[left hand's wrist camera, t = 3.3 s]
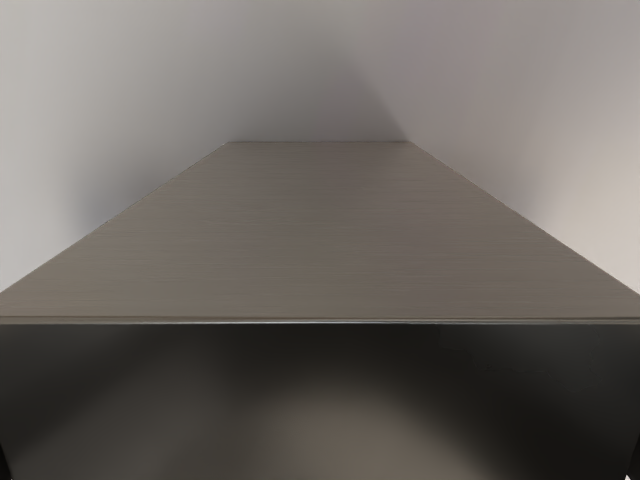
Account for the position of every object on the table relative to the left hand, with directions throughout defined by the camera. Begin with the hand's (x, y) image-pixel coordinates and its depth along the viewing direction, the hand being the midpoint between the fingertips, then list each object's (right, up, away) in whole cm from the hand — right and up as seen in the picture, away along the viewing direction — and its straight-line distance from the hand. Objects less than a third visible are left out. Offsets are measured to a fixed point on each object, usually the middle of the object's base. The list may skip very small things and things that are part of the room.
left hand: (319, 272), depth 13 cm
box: (0, -8, +6) cm, 10 cm away
